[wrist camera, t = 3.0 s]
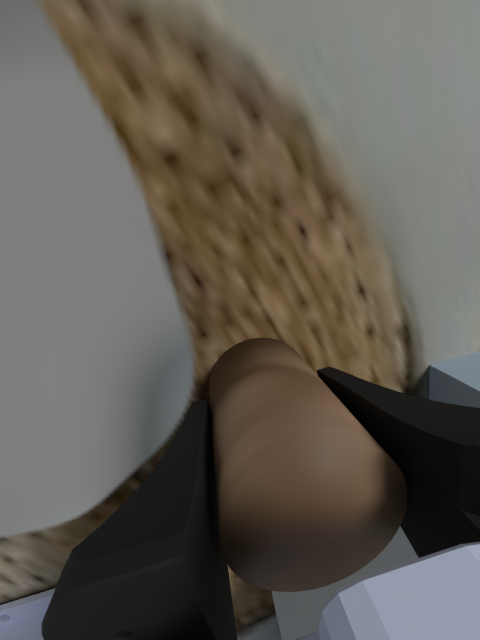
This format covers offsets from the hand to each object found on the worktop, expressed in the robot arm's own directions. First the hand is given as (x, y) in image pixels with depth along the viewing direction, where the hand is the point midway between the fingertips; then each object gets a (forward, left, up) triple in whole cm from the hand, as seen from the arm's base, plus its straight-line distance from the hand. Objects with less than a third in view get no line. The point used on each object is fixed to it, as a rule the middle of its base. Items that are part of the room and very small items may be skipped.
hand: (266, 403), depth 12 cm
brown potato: (0, 0, -2) cm, 2 cm away
